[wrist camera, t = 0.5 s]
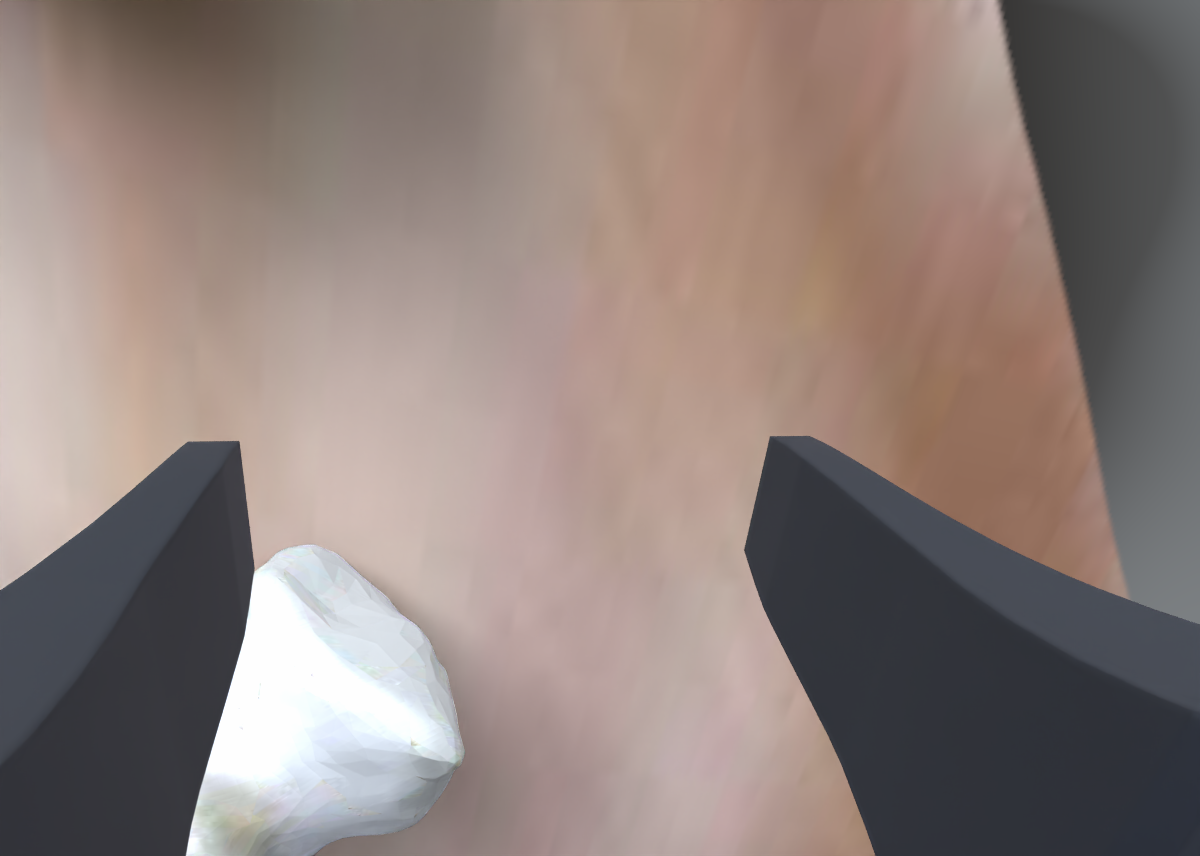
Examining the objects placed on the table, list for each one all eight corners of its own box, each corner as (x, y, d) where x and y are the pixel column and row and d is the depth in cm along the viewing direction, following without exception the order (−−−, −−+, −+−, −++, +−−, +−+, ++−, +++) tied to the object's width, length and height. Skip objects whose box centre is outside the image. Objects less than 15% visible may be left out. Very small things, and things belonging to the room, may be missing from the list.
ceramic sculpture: (563, 994, 18) (-122, 1265, 18) (527, 711, 26) (53, 896, 26) (329, 594, 14) (-580, 947, 13) (373, 400, 22) (-199, 621, 21)
